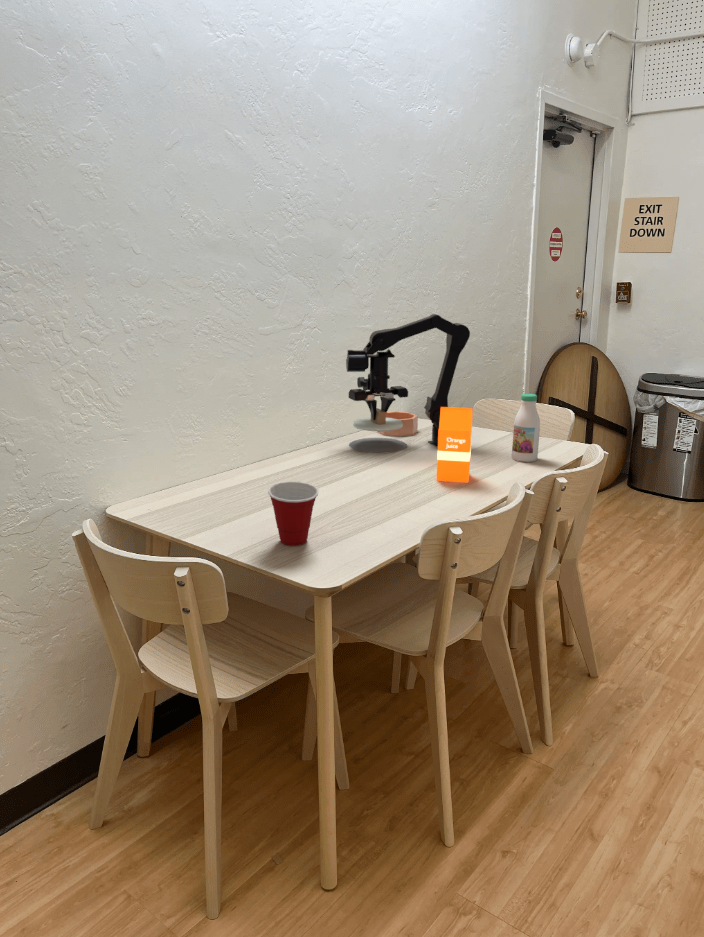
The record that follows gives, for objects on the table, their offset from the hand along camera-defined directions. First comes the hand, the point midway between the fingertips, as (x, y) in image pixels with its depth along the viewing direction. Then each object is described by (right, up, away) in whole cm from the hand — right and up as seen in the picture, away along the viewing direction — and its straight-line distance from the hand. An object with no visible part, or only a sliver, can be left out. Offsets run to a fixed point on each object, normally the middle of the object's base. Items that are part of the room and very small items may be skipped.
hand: (378, 419), depth 230 cm
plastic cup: (-21, -32, -75) cm, 84 cm away
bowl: (+7, -3, +20) cm, 22 cm away
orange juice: (+20, -18, -30) cm, 40 cm away
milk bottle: (+44, -13, -11) cm, 48 cm away
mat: (0, -8, +3) cm, 9 cm away
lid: (0, -2, +1) cm, 2 cm away
